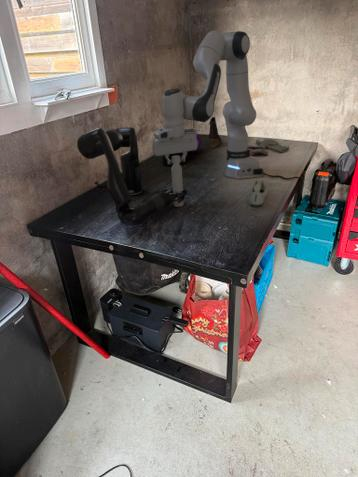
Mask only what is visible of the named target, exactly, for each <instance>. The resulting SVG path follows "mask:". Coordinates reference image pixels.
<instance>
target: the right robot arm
mask: <svg viewBox="0 0 358 477" xmlns="http://www.w3.org/2000/svg"><path fill="white" fill-rule="evenodd" d="M250 48H251V41H250V37H249V35H248V34H247V32H246V31H241V30H237V31H228V32H223V33H221V32H220V31H219V30H211V31H208V33H207V34H205V35H204V38H203V39H202V40H201V42H200V44H199V46H198V48H197V50H196V52H195V55H194V57H193V67H194V70H195V72H196V73H197V74H198V75H199V76H200V77H202V78H203V79H205V80H206V82H205V86H204V90H203V93H202V94H200V95H188V94H185V93H183V92H182V89H180V88H172V89H168V90H166V91H165V92H164V93H163V95H162V116H163V126H162V127H160V128H159V129H156V130H154V131H153V136H154V138H153V139H152V154H153V155H154V156H156V157H163V155H164V156H165V158H166V159H167V163H168V164H172V160H171V159H169V158H168V157H169V154H174V153H181V152H182V153H183V156H182V157H180V159H181V163H185V162H186V160H185V157H186V155H187V151H193V150H196V149H197V148H198V145H197V138H196V137H197V134H198V132H197V129H195V128H185V120H187V121H195V122H199V123H206V122H208V121H210V119H211V118H212V117H213V114H214V110H215V103H216V98H217V94H218V91H219V90H218V89H219V87H220V82H221V77H222V69H221V66H220V62H221V61H225V79H226V80H225V81H226V82H225V83H226V92H227V94H228V97H229V100H230V101H227V102H226V103H225V104H224V105H223V107H222V115H223V118H224V123H225V128H226V135H227V149H226V152H225V153H226V154H225V159H226V165H225V169H224V172H223V174H224V176H225V177H228V178H232V179H233V178H234V179H237V180H243V179H250V178H258V177H259V178H260V177H263V176H267V177H270V178H281V179H283V180H292V179H293V180H294V179H298V180H299V181H302V180H303V179H302V178H301V177H299V176H293V177H284V176H282V175H278V174H277V175H276V174H275V175H271V174H268V173H265V172H264V169H263V168H262V167H261V165H260V162H259V161H258V160H257V159H256V158H255V157H254V156H253V155H252V154H253V152H252V151H251V150H249V149H247V147H248V146H249V144H248V142H249V134H248V132H247V128H246V127H249V126H251V125H252V124H253V123H254V122H255V121H256V119H257V110H256V109H255V107H254V105H253V100H252V96H251V92H250V84H249V83H250V82H249V81H250V80H249V63H248V62H249V61H248V56H247V55H248V53H249V50H250Z"/></svg>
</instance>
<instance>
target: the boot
mask: <svg viewBox="0 0 358 477" xmlns="http://www.w3.org/2000/svg"><path fill="white" fill-rule="evenodd" d="M208 125H209V133H208V141H209V145H210V148H211V149H215V148H216V147H218V146H219V145H221V144H222V138H221V136H220V134H219V130H218V126H217V120H216V117H215V116H211V118H210V119H209V123H208Z"/></svg>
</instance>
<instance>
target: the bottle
mask: <svg viewBox="0 0 358 477" xmlns="http://www.w3.org/2000/svg"><path fill="white" fill-rule="evenodd" d="M170 168H171V185H172V187H171V188H172V189H173V193H175V192H177V193H178V192H181V191H183V190H184V181H183V167H182V165H181V163H174V164H173V166H171V167H170ZM175 195H176V194H175ZM178 196H180V194H179V195H178ZM184 202H185V199H184V200H183V201H182V202H181V203H178V201H175V202H173V207H176V208H179V207H183V206H184V205H185V203H184Z"/></svg>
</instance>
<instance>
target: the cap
mask: <svg viewBox="0 0 358 477" xmlns="http://www.w3.org/2000/svg"><path fill="white" fill-rule="evenodd" d="M180 162H181V161H180V156H172V163H179V164H181V163H182V162H181V163H180Z"/></svg>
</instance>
